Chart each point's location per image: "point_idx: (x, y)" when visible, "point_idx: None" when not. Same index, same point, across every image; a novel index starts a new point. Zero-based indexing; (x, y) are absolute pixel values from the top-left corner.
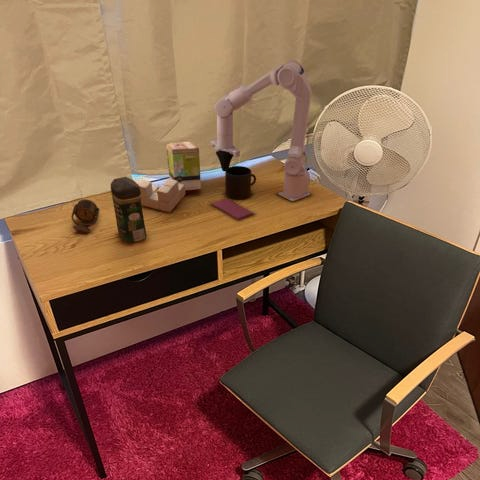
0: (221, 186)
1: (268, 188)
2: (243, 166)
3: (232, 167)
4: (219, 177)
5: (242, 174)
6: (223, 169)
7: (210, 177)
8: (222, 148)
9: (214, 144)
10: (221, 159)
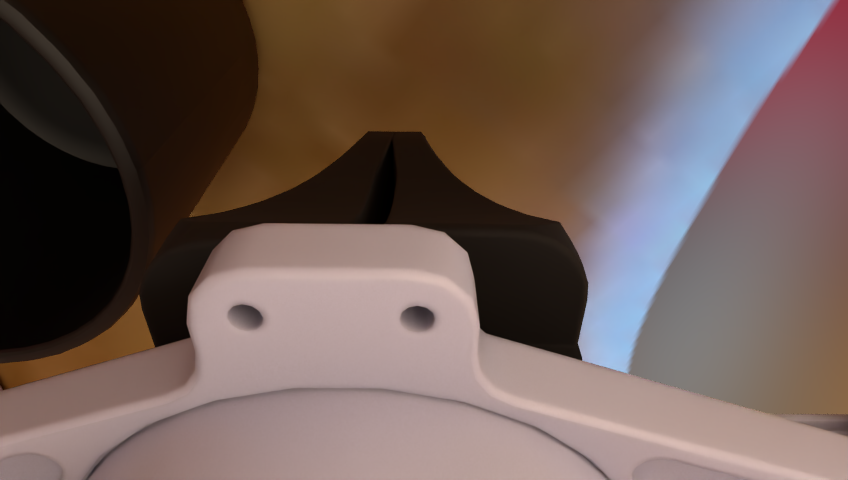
0: (414, 34)
1: (124, 337)
2: (62, 345)
3: (135, 211)
4: (618, 173)
5: (127, 256)
6: (369, 136)
7: (702, 98)
8: (141, 421)
9: (791, 454)
10: (361, 197)
